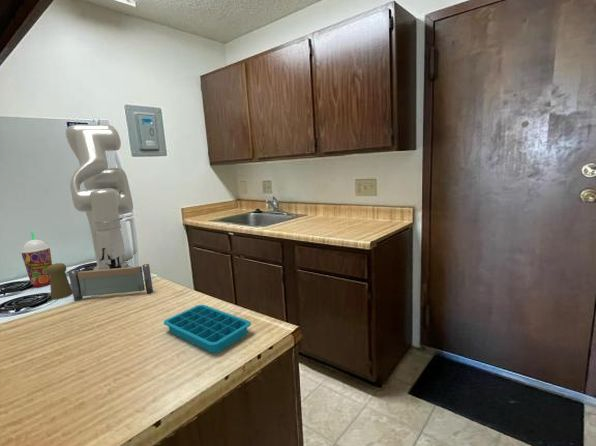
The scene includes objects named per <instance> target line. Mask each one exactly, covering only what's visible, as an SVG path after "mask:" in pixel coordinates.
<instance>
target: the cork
mask: <svg viewBox="0 0 596 446" xmlns="http://www.w3.org/2000/svg"><path fill="white" fill-rule="evenodd" d="M66 272H67V266H66V264H65V263H61V262H58V263H57V262H56V263H52V265H50V266H48V267H47V273H48V274H49V275H50V284H49V285H50V286H49V287H50V299H51V298H52V300H59V299H64V298H68V297H70V296H73V292H72V287H71V283H70V280H68V279H69V278H68V276H67V274H66Z"/></svg>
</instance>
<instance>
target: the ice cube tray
mask: <svg viewBox="0 0 596 446" xmlns="http://www.w3.org/2000/svg"><path fill="white" fill-rule="evenodd" d="M163 325H165V326H167V327H168V330H169V332H170V334H173V335H174V336H177V337H178V338H180V339H182V340H184V341H187V342H188V343H190V344H192V343H193V344H192V345H194V344H195V346H196V347H198V346H199V348H200V349H203V350H204V349H205V351H206V350H207V351H206V352H208V351H209V352H208V353H210V352H211V353H210V354H218V353H220V352H222V351H223V350H225V349H226V348H228V347H230V346H231V345H233V344H234V343H236V342H238V341H240V340H241V339H243V338H244V337H245V336H247V335H248V328H249V327H250V326H251V325H252V323H251V321H250V320H247V319H245V318H242V317H239V316H236V315H233V314H230V313H227V312H225V311H222V310H219V309H217V308H214V307H211V306H209V305H205V304H198V305H195V306H193V307H191V308H188V309H187V310H184V311H182V312H179V313H177V314H176V315H173V316H171V317H169V318H166V319H164V321H163Z"/></svg>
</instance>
